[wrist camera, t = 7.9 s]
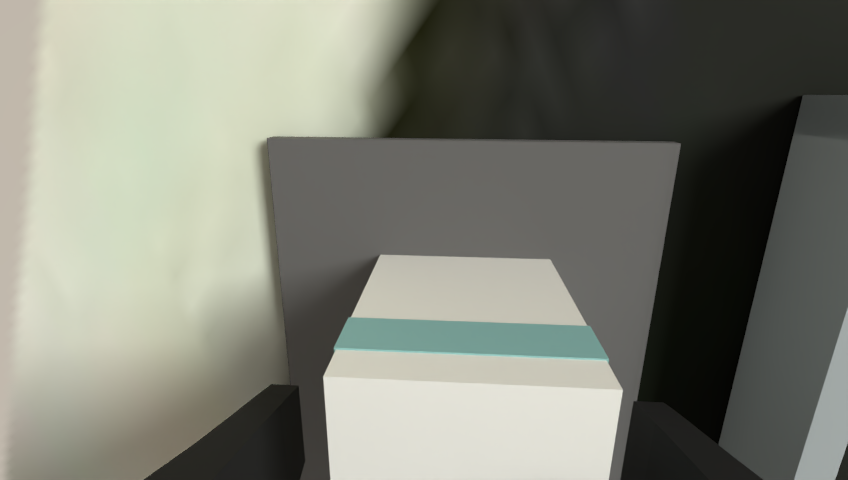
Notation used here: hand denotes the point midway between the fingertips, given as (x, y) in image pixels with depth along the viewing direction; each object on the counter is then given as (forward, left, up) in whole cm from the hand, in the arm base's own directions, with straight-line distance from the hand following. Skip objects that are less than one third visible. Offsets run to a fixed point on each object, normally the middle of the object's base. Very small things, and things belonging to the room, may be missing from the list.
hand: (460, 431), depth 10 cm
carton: (0, 0, -2) cm, 2 cm away
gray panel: (0, 0, -2) cm, 2 cm away
